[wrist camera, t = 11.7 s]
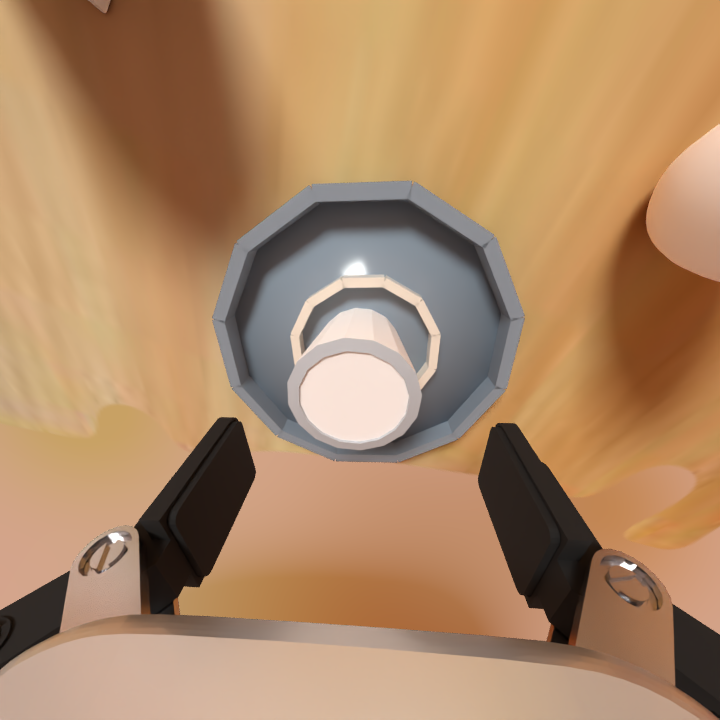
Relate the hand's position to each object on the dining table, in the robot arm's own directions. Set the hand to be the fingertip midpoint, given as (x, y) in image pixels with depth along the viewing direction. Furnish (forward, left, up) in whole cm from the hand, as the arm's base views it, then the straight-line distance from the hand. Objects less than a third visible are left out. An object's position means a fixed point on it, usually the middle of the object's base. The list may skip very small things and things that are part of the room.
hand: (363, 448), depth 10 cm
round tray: (0, 0, -11) cm, 11 cm away
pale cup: (+1, 0, -11) cm, 11 cm away
